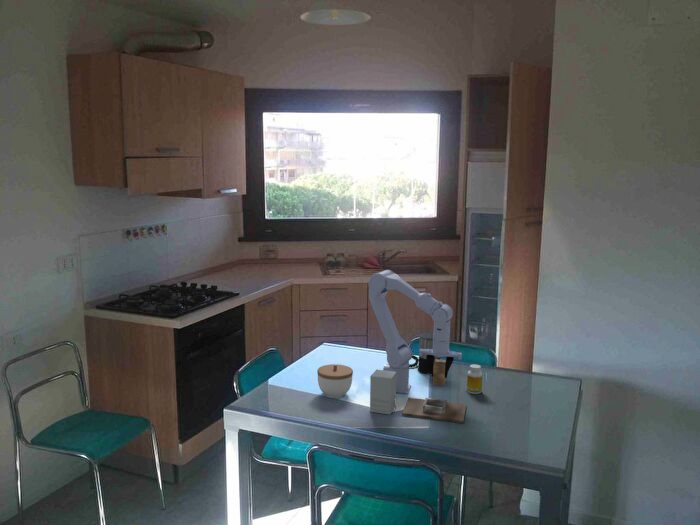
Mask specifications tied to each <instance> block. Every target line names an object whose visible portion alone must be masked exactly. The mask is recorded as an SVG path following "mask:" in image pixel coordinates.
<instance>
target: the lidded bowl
mask: <svg viewBox="0 0 700 525" xmlns="http://www.w3.org/2000/svg"><path fill="white" fill-rule="evenodd" d="M316 372H317V382H318V384H317V385H318V387H319V390H320V391H321V392H322V393H323V394H324V396H325V397H326V398H330V399H340V398H343V397H344V396H345V395H346V394H347V393H348V392H349V391H350V389H351V387H352V383H353V376H354V375H353V374H354V370H353V368H352V367H351V366H348V365H344V364H338V363H337V364H335V363H332V364H325V365H321V366H320V367H318V368H317V371H316Z"/></svg>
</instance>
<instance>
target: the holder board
mask: <svg viewBox="0 0 700 525" xmlns="http://www.w3.org/2000/svg"><path fill="white" fill-rule="evenodd" d="M466 408H467V404H466V403H458V402H450V401H448V400H447V399H441V398H439V399H438V398H433V397H432V398H430V397H425V399H424V398H415V397H408V398H407V400H406V402H405V405H404V406H403V410H402V412H401V416H402V417H403V416H404V417H414V418H419V419H420V418H421V419H427V420H428V419H429V420H435V421H436V420H438V421H446V422H454V423H461V424H462V423H463V424H464V423H465V422H464V421H465V414H466Z"/></svg>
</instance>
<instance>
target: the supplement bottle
mask: <svg viewBox="0 0 700 525" xmlns="http://www.w3.org/2000/svg"><path fill="white" fill-rule="evenodd" d="M466 376H467V377H466V392H467V393H469V394H472V395H473V394H474V395H477V394H478V395H479V394H481V393H482V389H483V386H482V385H483V373H482V367H481V365H479V364H470V365H469V370H468V371H467V375H466Z"/></svg>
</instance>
